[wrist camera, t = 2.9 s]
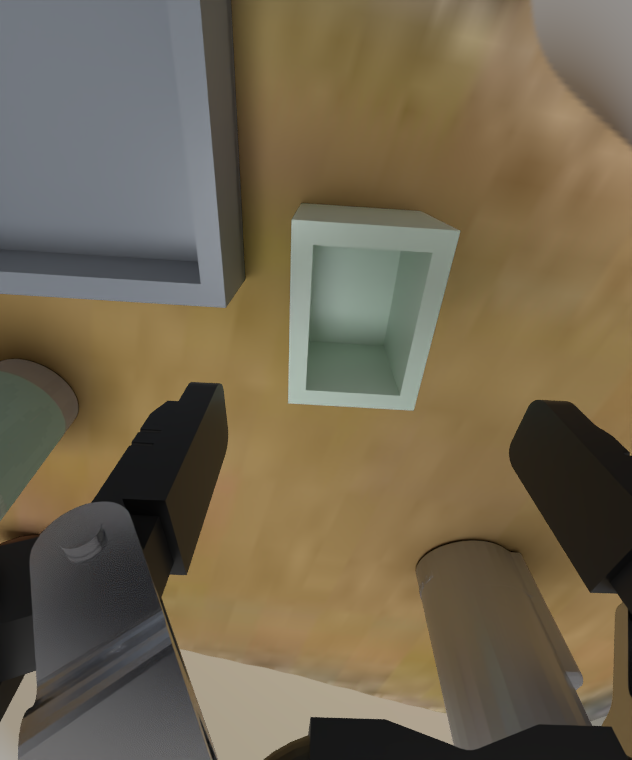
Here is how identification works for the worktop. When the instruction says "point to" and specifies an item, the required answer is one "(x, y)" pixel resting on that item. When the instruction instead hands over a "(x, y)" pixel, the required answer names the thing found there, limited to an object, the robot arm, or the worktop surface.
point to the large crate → (119, 151)
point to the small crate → (364, 303)
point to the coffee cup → (29, 422)
